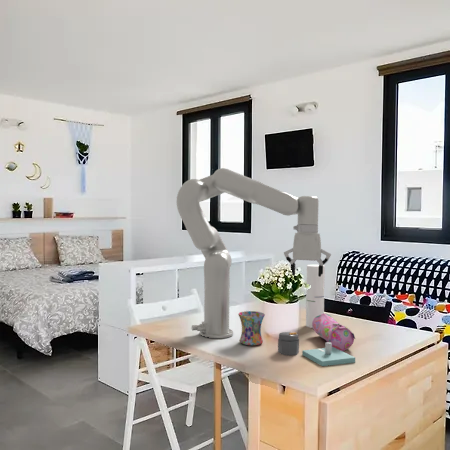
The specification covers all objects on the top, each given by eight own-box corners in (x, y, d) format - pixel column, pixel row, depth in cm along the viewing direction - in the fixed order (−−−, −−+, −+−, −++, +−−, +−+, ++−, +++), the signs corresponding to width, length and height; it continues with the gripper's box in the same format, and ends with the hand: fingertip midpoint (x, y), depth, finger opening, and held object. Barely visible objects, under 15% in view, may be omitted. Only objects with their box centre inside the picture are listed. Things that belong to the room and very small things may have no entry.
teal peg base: (322, 366, 146) (322, 350, 146) (302, 354, 157) (302, 339, 157) (355, 362, 150) (355, 346, 150) (333, 351, 161) (333, 336, 161)
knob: (284, 356, 156) (284, 336, 155) (275, 350, 162) (275, 331, 161) (301, 354, 158) (302, 334, 158) (292, 348, 164) (292, 330, 164)
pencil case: (355, 352, 162) (356, 325, 162) (329, 352, 161) (330, 325, 161) (334, 335, 183) (334, 312, 183) (311, 335, 182) (311, 312, 182)
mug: (265, 347, 165) (266, 316, 165) (238, 347, 165) (239, 316, 165) (262, 338, 177) (262, 309, 177) (237, 337, 177) (237, 309, 177)
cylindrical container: (325, 328, 193) (326, 266, 192) (307, 328, 193) (308, 266, 193) (321, 324, 200) (322, 264, 200) (304, 323, 201) (305, 264, 200)
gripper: (282, 229, 176) (281, 275, 177) (330, 230, 171) (329, 278, 172) (286, 228, 183) (285, 273, 184) (332, 229, 178) (331, 275, 179)
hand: (306, 275), depth 178 cm, fingers open, 9 cm apart
